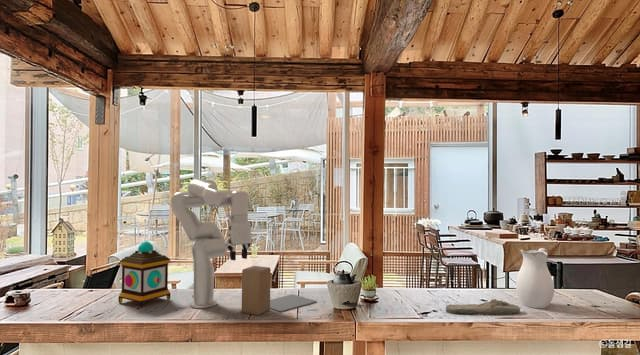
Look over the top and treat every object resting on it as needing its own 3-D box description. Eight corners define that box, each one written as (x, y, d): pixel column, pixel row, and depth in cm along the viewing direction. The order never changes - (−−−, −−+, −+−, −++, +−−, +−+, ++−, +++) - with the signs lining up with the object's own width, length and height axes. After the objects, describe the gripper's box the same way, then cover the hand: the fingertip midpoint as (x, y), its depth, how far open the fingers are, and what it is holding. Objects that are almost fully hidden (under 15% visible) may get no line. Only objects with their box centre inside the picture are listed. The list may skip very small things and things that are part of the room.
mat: (256, 304, 203) (256, 303, 203) (292, 295, 220) (292, 294, 220) (280, 312, 190) (280, 311, 190) (316, 302, 208) (316, 301, 208)
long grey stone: (442, 312, 199) (449, 319, 189) (441, 301, 199) (449, 308, 189) (513, 308, 200) (524, 315, 190) (513, 297, 200) (524, 304, 190)
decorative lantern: (140, 310, 192) (141, 245, 193) (113, 303, 202) (114, 241, 203) (174, 299, 209) (175, 240, 210) (148, 294, 219) (149, 237, 220)
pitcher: (545, 312, 194) (545, 253, 195) (509, 304, 207) (509, 248, 207) (564, 303, 210) (564, 248, 210) (529, 296, 223) (529, 244, 223)
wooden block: (270, 310, 194) (271, 267, 194) (259, 316, 185) (259, 271, 185) (253, 307, 198) (253, 265, 199) (240, 312, 189) (241, 269, 190)
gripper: (227, 220, 177) (226, 262, 176) (259, 218, 189) (259, 258, 188) (217, 219, 182) (217, 260, 181) (249, 217, 194) (249, 255, 194)
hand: (238, 258), depth 185 cm, fingers open, 5 cm apart
